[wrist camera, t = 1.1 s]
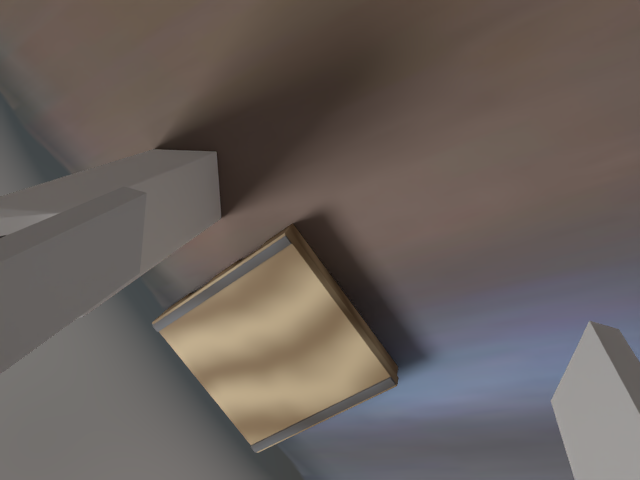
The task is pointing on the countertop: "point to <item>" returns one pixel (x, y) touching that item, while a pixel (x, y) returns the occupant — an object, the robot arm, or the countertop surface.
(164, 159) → the milk
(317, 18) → the countertop surface
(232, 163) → the countertop surface
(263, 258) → the dock
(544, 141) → the countertop surface
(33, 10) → the countertop surface
